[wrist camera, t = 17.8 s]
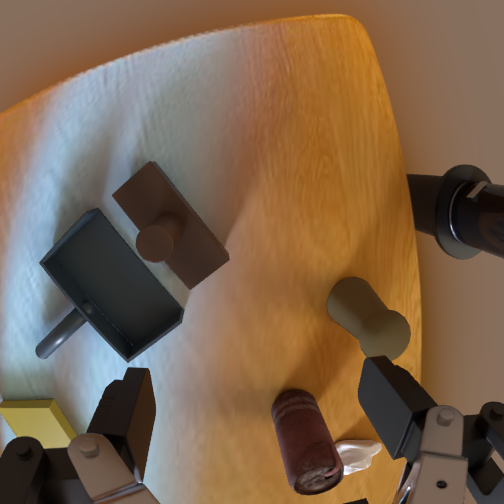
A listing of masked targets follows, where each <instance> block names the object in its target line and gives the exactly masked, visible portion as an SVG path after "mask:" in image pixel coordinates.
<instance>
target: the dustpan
mask: <svg viewBox="0 0 504 504" xmlns="http://www.w3.org/2000/svg"><path fill="white" fill-rule="evenodd" d="M55 257H56V258H57V259H56V258H55ZM59 262H60V263H61V264H60V263H59ZM39 263H40V265H41V266H42V267H43V269H44V270H45V271H46V272H47V274H48V275H49V276H50V278H51V279H52V280H53V281H54V283H55V284H56V285H57V286H58V287H59V289H60V290H61V291H62V292H63V294H64V295H65V296H66V297H67V298H68V299H69V301H70V302H71V303H72V304H73V305H74V307H75V309H74V310H73V311H72V312H71V313H70V314H68V315H67V316H66V317H65V318H64V319H63V320H62V321H61V322H60V323H59V324H58V325H57V326H56V327H55V328H54V329H53V330H52V331H51V332H50V333H49V334H48V335H47V336H46V337H45V338H44V339H43V340H42V341H41V342H40V343H39V344H38V345H37V347H36V350H35V352H36V355H37V356H38V357H39V358H40V359H46V358H48V357H49V356H50V355H51V354H52V353H53V352H54V351H55V350H56V349H57V348H58V347H59V346H60V345H61V344H63V343H64V342H65V341H66V340H67V339H68V338H69V337H70V336H71V335H72V334H73V333H74V332H75V331H77V330H78V329H79V328H80V327H81V326H82V325H83V324H84V323H85V322H86V321H88V322H89V323H90V325H91V326H92V327H93V328H94V329H95V330H96V331H97V332H98V333H99V334H100V335H101V336H102V337H103V338H104V339H105V341H106V342H107V343H108V344H109V345H110V346H111V347H112V348H113V349H114V350H115V351H116V352H117V353H118V354H119V355H120V356H121V357H122V358H123V359H124V360H125V361H126V362H127V363H129V362H130V361H131V360H133V359H134V358H135V357H137V356H138V355H139V354H141V353H142V352H144V351H145V350H146V349H148V348H149V347H150V346H152V345H153V344H154V343H156V342H157V341H158V340H160V339H161V338H162V337H164V336H165V335H166V334H168V333H169V332H170V331H172V330H173V329H174V328H176V327H177V326H178V325H180V324H181V323H182V319H183V315H184V309H183V308H182V307H181V306H180V305H179V304H178V302H177V301H176V300H175V299H174V298H173V297H172V296H171V295H170V294H169V292H168V291H167V290H166V289H165V288H164V287H163V286H162V285H161V283H160V282H159V281H158V280H157V279H156V278H155V277H154V275H153V274H152V273H151V272H150V271H149V270H148V268H147V267H146V266H145V265H144V264H143V263H142V261H141V260H140V259H139V258H138V257H137V255H136V254H135V253H134V252H133V251H132V249H131V248H130V247H129V246H128V245H127V243H126V242H125V241H124V240H123V238H122V237H121V236H120V235H119V234H118V232H117V231H116V230H115V229H114V227H113V226H112V225H111V224H110V222H109V221H108V220H107V218H106V217H105V216H104V215H103V213H102V212H101V211H100V210H99V208H96V209H93V210H90V211H87V212H86V213H85V214H84V215H83V216H82V217H81V218H80V219H79V220H78V221H77V222H76V223H75V224H74V225H73V226H72V227H71V228H70V229H69V230H68V231H67V232H66V233H65V234H64V235H63V237H62V238H61V239H60V240H59V241H58V242H57V243H56V244H55V245H54V246H53V247H52V249H51V250H50V251H49V252H48V253H47V254H46V255H45V256H44V258H43V259H42V260H41V261H40V262H39ZM63 267H64V268H63ZM67 272H68V273H69V274H68V273H67ZM71 277H72V278H73V279H72V278H71ZM75 282H76V283H77V284H78V285H77V284H76V283H75ZM81 289H82V290H83V291H82V290H81ZM86 295H87V296H88V297H89V298H88V297H87V296H86ZM93 303H94V304H95V305H96V306H95V305H94V304H93ZM101 312H102V313H103V314H104V315H105V316H104V315H103V314H102V313H101ZM111 323H112V324H113V325H114V326H115V327H116V328H117V329H116V328H115V327H114V326H113V325H112V324H111Z"/></svg>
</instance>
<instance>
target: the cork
mask: <svg viewBox="0 0 504 504" xmlns="http://www.w3.org/2000/svg"><path fill="white" fill-rule="evenodd" d="M327 310H328V313H329V315H330V316H331V318H332V319H333V320H334V321H335V322H337V323H338V324H339V325H340V326H342V327H343V328H344V329H346V330H347V331H348V332H349V333H351V334H352V335H353V336H354V337H356V338H357V339H358V340H359V343H360V347H361V350H362V351H363V353H364V354H365V355H366V357H374V356H381V355H385V356H387V357H388V359H389V360H390V361H392V360H394V359H396V358H398V357H399V356H400V355H401V354H402V353H403V352H404V351H405V349H406V348H407V346H408V344H409V342H410V336H411V332H410V326H409V324H408V322H407V320H406V319H405V317H404V316H402V315H401V314H400V313H398V312H397V311H393V310H388V308H387V307H386V306H385V304H384V303H383V302H382V300H381V299H380V298H379V297H378V295H377V294H376V293H375V291H374V290H373V289H372V288H371V286H370V285H369V284H368V282H366V281H365V280H363V279H361V278H357V277H352V278H347V279H344V280H342V281H340V282H339V283H338V284H337V285H335V286H334V288H333V289H332V291H331V292H330V294H329V297H328V300H327Z"/></svg>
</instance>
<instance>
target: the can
mask: <svg viewBox="0 0 504 504" xmlns="http://www.w3.org/2000/svg"><path fill="white" fill-rule="evenodd" d="M271 412H272V417H273V421H274V425H275V429H276V433H277V438H278V442H279V446H280V450H281V454H282V458H283V462H284V466H285V470H286V474H287V478H288V482H289V485H290V486H291V487H292V488H293V489H294V490H295V492H296V493H298V494H301V495H316V494H320V493H324V492H326V491H328V490H331V489H332V488H334V487H335V486H337V485H338V484H339V483H340V482H341V480H342V478H343V472H344V465H343V463H342V460H341V458H340V456H339V453H338V451H337V449H336V446H335V444H334V442H333V440H332V437H331V435H330V433H329V430H328V428H327V426H326V423H325V421H324V419H323V416H322V414H321V412H320V409H319V407H318V405H317V403H316V400H315V398H314V397H313V396H312V395H311V394H310V393H308V392H305V391H302V390H293V391H288V392H286V393H284V394H282V395H281V396H279V397H278V398H277V399H276V401H275V402H274V403H273V405H272V409H271Z"/></svg>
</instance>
